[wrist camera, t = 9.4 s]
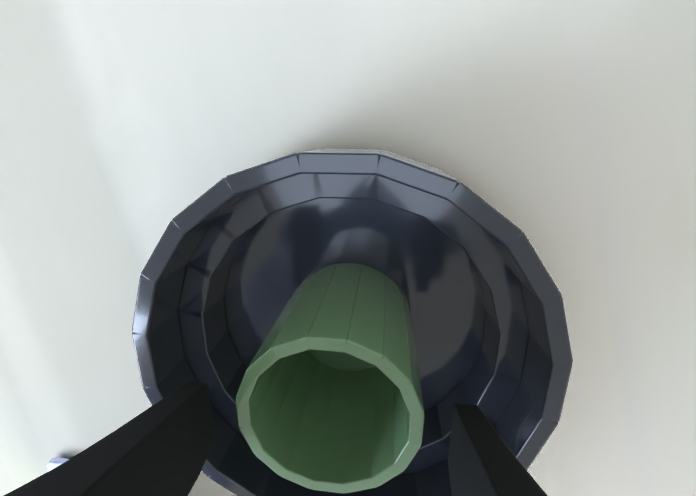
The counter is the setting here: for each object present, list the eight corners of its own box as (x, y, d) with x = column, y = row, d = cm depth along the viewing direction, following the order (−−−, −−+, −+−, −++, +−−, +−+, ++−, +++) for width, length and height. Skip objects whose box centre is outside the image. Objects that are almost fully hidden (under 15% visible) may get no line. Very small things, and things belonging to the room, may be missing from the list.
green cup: (407, 375, 16) (417, 502, 11) (292, 366, 17) (243, 483, 11) (414, 265, 15) (431, 345, 9) (288, 259, 15) (227, 332, 10)
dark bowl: (495, 454, 18) (529, 554, 14) (215, 427, 19) (166, 510, 15) (547, 150, 13) (621, 156, 9) (178, 146, 15) (94, 149, 11)
